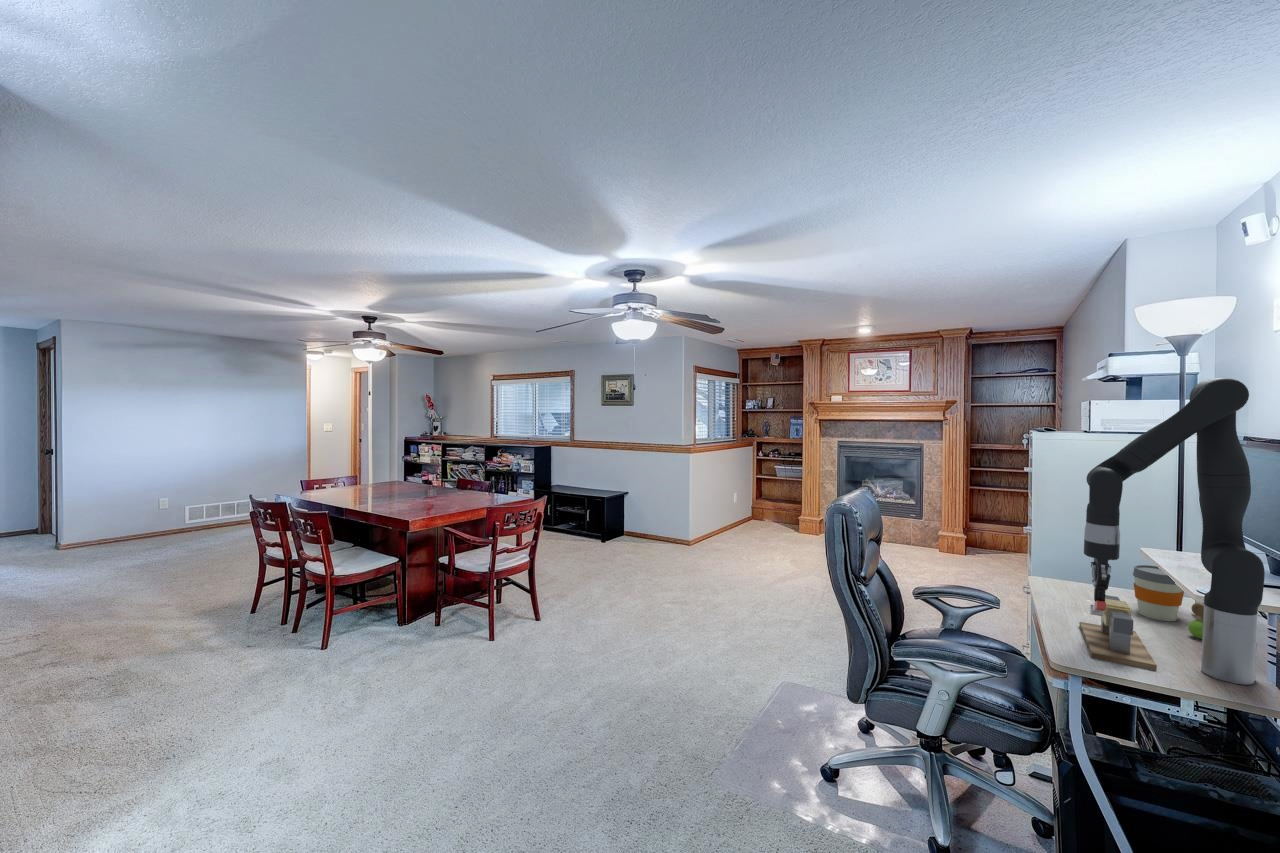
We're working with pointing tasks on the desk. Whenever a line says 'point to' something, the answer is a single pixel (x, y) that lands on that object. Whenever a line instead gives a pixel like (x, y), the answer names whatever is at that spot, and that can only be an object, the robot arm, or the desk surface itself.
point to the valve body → (1117, 624)
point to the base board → (1101, 651)
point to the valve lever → (1098, 608)
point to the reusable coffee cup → (1156, 593)
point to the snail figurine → (1197, 625)
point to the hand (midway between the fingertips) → (1099, 602)
